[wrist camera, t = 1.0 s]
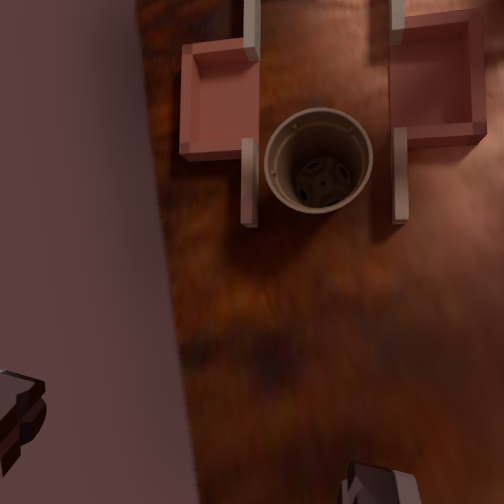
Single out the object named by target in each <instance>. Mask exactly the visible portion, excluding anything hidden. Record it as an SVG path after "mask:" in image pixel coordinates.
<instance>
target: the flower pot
mask: <svg viewBox="0 0 504 504" xmlns="http://www.w3.org/2000/svg"><path fill="white" fill-rule="evenodd" d="M314 163H318V165H316V166H315V167H313V168H311V169H309V168H308V167H309V166H311V165H312V164H314ZM372 165H373V151H372V145H371V142H370V140H369V138H368V135H367V133H366V132H365V130H364V129H363V127H362V126H361V125H360V124H359V123H358V122H357V121H356V120H355V119H354V118H352V117H351V116H349V115H347V114H346V113H344V112H342V111H339V110H335V109H331V108H312V109H307V110H304V111H301V112H298V113H296V114H295V115H293V116H291V117H289V118H288V119H287V120H286V121H284V122H283V123H282V124H281V125H280V126H279V127H278V128H277V129H276V131H275V132H274V134H273V135H272V137H271V138H270V140H269V143H268V145H267V148H266V151H265V156H264V171H265V176H266V180H267V182H268V185H269V187H270V189H271V190H272V192H273V193H274V195H275V196H276V197H277V198H278V199H279V200H280V201H281V202H282V203H284V204H285V205H286V206H288V207H290V208H292V209H294V210H297V211H299V212H304V213H310V214H320V213H328V212H332V211H335V210H337V209H339V208H341V207H343V206H345V205H346V204H348V203H349V202H351V201H352V200H353V199H354V198H355V197H356V196H357V195H358V194H359V193H360V192H361V191H362V189H363V188H364V186H365V185H366V183H367V181H368V179H369V177H370V174H371V170H372ZM340 168H343V169H345V170H346V172H347V175H348V177H347V178H345V177H344V175H343V173H342V172H341V170H340ZM321 182H325V185H321ZM300 190H304V192H305V194H306V196H307V198H308V199H307V200H303V199H302V197H301V194H300ZM336 200H339V202H338V203H337V204H335V205H332V206H329V207H328V204H330V203H333V202H335V201H336Z"/></svg>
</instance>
